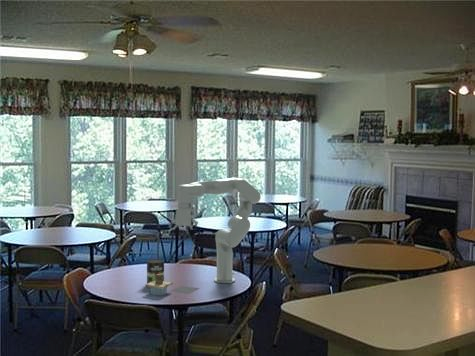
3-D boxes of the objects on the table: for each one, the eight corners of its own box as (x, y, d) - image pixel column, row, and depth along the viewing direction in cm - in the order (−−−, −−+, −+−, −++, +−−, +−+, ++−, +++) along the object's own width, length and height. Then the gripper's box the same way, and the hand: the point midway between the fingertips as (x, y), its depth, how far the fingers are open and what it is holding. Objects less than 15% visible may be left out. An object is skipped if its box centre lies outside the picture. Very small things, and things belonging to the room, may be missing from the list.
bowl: (156, 290, 322) (156, 282, 321) (170, 292, 318) (170, 284, 317) (147, 294, 313) (147, 286, 313) (161, 296, 310) (161, 288, 309)
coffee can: (165, 286, 331) (165, 262, 330) (147, 287, 328) (147, 263, 327) (163, 281, 340) (163, 258, 339) (145, 282, 338) (145, 259, 337)
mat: (181, 286, 330) (181, 285, 330) (199, 288, 325) (199, 288, 325) (170, 291, 319) (170, 290, 319) (189, 294, 314) (189, 293, 314)
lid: (156, 281, 323) (156, 271, 322) (172, 284, 318) (172, 273, 317) (145, 286, 313) (145, 275, 312) (162, 288, 308) (162, 277, 308)
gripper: (200, 206, 325) (200, 235, 327) (174, 204, 333) (175, 233, 334) (194, 207, 319) (194, 237, 320) (168, 205, 326) (168, 235, 327)
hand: (184, 235), depth 327 cm, fingers open, 9 cm apart
